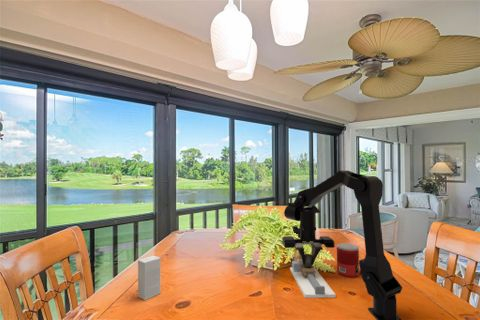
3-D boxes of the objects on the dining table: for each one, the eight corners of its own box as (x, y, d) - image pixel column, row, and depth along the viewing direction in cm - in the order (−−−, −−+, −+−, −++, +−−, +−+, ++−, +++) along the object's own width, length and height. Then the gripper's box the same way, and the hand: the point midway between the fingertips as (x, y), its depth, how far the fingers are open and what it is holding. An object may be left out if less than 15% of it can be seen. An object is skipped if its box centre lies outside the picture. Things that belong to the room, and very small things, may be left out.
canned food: (361, 279, 99) (360, 249, 99) (338, 277, 101) (338, 248, 101) (356, 271, 107) (356, 243, 107) (335, 269, 108) (335, 242, 109)
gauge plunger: (302, 259, 104) (302, 254, 104) (296, 259, 104) (296, 254, 104) (301, 257, 106) (301, 252, 106) (295, 257, 106) (295, 252, 106)
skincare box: (153, 289, 90) (154, 254, 90) (160, 293, 87) (161, 257, 88) (137, 296, 85) (137, 259, 86) (144, 301, 83) (144, 262, 83)
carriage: (315, 277, 97) (315, 257, 97) (303, 277, 97) (303, 257, 97) (311, 272, 102) (311, 252, 102) (300, 272, 102) (300, 252, 102)
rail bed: (335, 297, 85) (335, 285, 85) (304, 297, 85) (304, 285, 85) (314, 269, 108) (314, 259, 108) (290, 269, 108) (290, 259, 108)
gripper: (324, 219, 108) (324, 257, 108) (279, 219, 108) (279, 257, 108) (335, 225, 97) (335, 267, 97) (284, 225, 97) (284, 267, 96)
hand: (307, 264), depth 100 cm, fingers closed on carriage, 3 cm apart
